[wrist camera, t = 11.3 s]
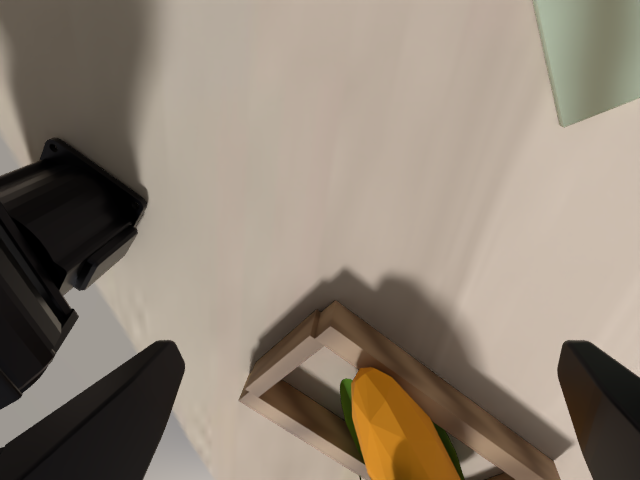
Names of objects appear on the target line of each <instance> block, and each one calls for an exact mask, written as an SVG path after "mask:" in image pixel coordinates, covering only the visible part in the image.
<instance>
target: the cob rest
mask: <svg viewBox="0 0 640 480" xmlns="http://www.w3.org/2000/svg"><path fill="white" fill-rule="evenodd" d="M323 346H325V347H327V348H328V349H330V350H331V351H333V352H334V353H335V354H337V355H338V356H340V357H341V358H343V359H344V360H345V361H347V362H348V363H350V364H351V365H353V366H354V367H355V368H357V369H358V370H359V369H360V368H367V367H373V368H375V369H377V370H379V371H381V372H383V373H385V374H387V375H389V376H391V377H392V378H393V379H394V380H395V381H396V382H397V383H398V384H399V385H400V386H401V387H402V389H403V390H404V391H405V392H406V393H407V394H408V395H409V396H410V397H411V398H412V399H413V400H414V401H415V402H416V403H417V404H418V406H419V407H420V408H421V409H422V410H423V411H424V412H425V413H426V414H427V415H428V416H429V417H430V419H431V421H433V422H434V423H435V424H437V425H438V426H440V427H441V428H443V429H444V430H445V431H447V432H448V433H450V434H451V435H453V436H454V437H455V438H457V439H458V440H460V441H461V442H463V443H464V444H465V445H467V446H468V447H470V448H471V449H473V450H474V451H475V452H477V453H478V454H480V455H481V456H483V457H484V458H485V459H487V460H488V461H490V462H491V463H493V464H494V465H495V466H497V467H498V468H500V469H501V470H503V471H504V472H505V473H502V474H500V475H497V476H494V477H491V478H489V479H486V480H561V479H560V477H559V474H558V471H557V469H556V466H555V463H554V461H552V460H551V459H550V458H548V457H547V456H545V455H544V454H543V453H541V452H540V451H539V450H537V449H536V448H535V447H533V446H532V445H531V444H529V443H528V442H527V441H525V440H524V439H523V438H521V437H520V436H518V435H517V434H516V433H514V432H513V431H512V430H510V429H509V428H508V427H506V426H505V425H504V424H502V423H501V422H500V421H498V420H497V419H495V418H494V417H493V416H491V415H490V414H489V413H487V412H486V411H485V410H483V409H482V408H481V407H479V406H478V405H477V404H475V403H474V402H473V401H471V400H470V399H468V398H467V397H466V396H464V395H463V394H462V393H460V392H459V391H458V390H456V389H455V388H454V387H452V386H451V385H450V384H448V383H447V382H446V381H444V380H443V379H441V378H440V377H439V376H437V375H436V374H435V373H433V372H432V371H431V370H429V369H428V368H427V367H425V366H424V365H423V364H421V363H420V362H418V361H417V360H416V359H414V358H413V357H412V356H410V355H409V354H408V353H406V352H405V351H404V350H402V349H401V348H400V347H398V346H397V345H396V344H394V343H393V342H391V341H390V340H389V339H387V338H386V337H385V336H383V335H382V334H381V333H379V332H378V331H377V330H375V329H374V328H373V327H371V326H370V325H369V324H367V323H366V322H364V321H363V320H362V319H360V318H359V317H358V316H356V315H355V314H354V313H352V312H351V311H350V310H348V309H347V308H346V307H344V306H343V305H341V304H340V303H339V302H337V301H336V300H335V301H334V302H333V303H332V304H330V305H329V306H328V307H327V308H326V309H325V310H323V311H322V312H319V311H318V310H317V309H316V310H315V311H314V312H313V313H312V314H311V315H310V316H308V317H307V318H306V319H305V320H304V321H303V322H301V323H300V324H299V325H298V326H297V327H296V328H295V329H293V330H292V331H291V332H290V333H289V334H288V335H287V336H285V337H284V338H283V339H282V340H281V341H280V342H279V343H277V344H276V345H275V346H274V347H273V348H272V349H271V350H269V351H268V352H267V353H266V354H265V355H264V356H262V357H261V358H260V359H259V360H258V361H257V362H256V363H255V365H254V368H253V370H252V372H251V373H250V374H249V376H248V378H247V381H246V383H245V386H244V388H243V391H242V393H241V396H240V398H239V401H240V402H241V403H243V404H244V405H246V406H248V407H249V408H251V409H253V410H254V411H256V412H257V413H259V414H261V415H262V416H264V417H265V418H267V419H269V420H270V421H272V422H273V423H275V424H277V425H278V426H280V427H282V428H283V429H285V430H286V431H288V432H290V433H291V434H293V435H294V436H296V437H298V438H299V439H301V440H303V441H304V442H306V443H307V444H309V445H311V446H312V447H314V448H315V449H317V450H319V451H320V452H322V453H323V454H325V455H327V456H328V457H330V458H332V459H333V460H335V461H336V462H338V463H340V464H341V465H343V466H344V467H346V468H348V469H349V470H351V471H352V472H354V473H356V474H357V475H359V476H361V477H362V478H364V479H365V480H371V479H370V477H369V475H368V473H367V469H366V466H365V462H364V460H363V458H362V457H361V455H360V453H359V452H358V449H357V447H356V445H355V442H354V440H353V438H352V436H351V433H350V431H349V429H348V426H347V424H346V422H345V421H344V420H342V419H341V418H339V417H338V416H336V415H335V414H333V413H332V412H330V411H329V410H327V409H326V408H324V407H323V406H321V405H319V404H318V403H316V402H315V401H313V400H312V399H310V398H309V397H307V396H306V395H304V394H303V393H301V392H300V391H298V390H297V389H295V388H294V387H292V386H290V385H289V384H287V383H286V382H284V381H283V380H281V379H282V378H284V377H285V376H286V375H288V374H289V373H290V372H291V371H293V370H294V369H295V368H296V367H298V366H299V365H300V364H302V363H303V362H304V361H305V360H307V359H308V358H309V357H311V356H312V355H313V354H314V353H316V352H317V351H318V350H320V349H321V348H322V347H323Z"/></svg>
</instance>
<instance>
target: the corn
mask: <svg viewBox="0 0 640 480" xmlns="http://www.w3.org/2000/svg"><path fill="white" fill-rule="evenodd" d="M340 397H341V404H342V409H343V413H344V417H345V422H346V424H347V426H348V429H349V431H350V433H351V436H352V438H353V440H354V442H355V445H356V447H357V449H358V452H359V453H360V455H361V457H362V458H363V460H364V462H365V466H366V469H367V473H368V475H369V477H370V479H371V480H465V479H464V476H463V473H462V470H461V467H460V464H459V460H458V457H457V454H456V451H455V449H454V447H453V445H452V443H451V441H450V439H449V437H448V435H447V433H446V431H445V430H444V429H443V428H441V427H440V426H438V425H437V424H435V423H434V422H433V421H431V419H430V417H429V416H428V415H427V414H426V413H425V412H424V411H423V410H422V409H421V408H420V407H419V406H418V404H417V403H416V402H415V401H414V400H413V399H412V398H411V397H410V396H409V395H408V394H407V393H406V392H405V391H404V390H403V389H402V387H401V386H400V385H399V384H398V383H397V382H396V381H395V380H394V379H393V378H392V377H391V376H389V375H387V374H385V373H383V372H381V371H379V370H377V369H375V368H373V367H367V368H360V369H359V371H358V373H357V374H356V376H355V378H354V379H353V381H352V380H351V379H347V378H346V379H344V380H342V381H341V384H340ZM359 477H360V480H361V476H359Z"/></svg>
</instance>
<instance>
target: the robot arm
mask: <svg viewBox="0 0 640 480" xmlns="http://www.w3.org/2000/svg"><path fill="white" fill-rule="evenodd" d="M55 145H56V146H57V148H56V147H55ZM136 203H138V204H139V206H137V205H136ZM146 207H147V203H146V201H145V200H144V199H143V198H142V197H141V196H139V195H138V194H136V193H135V192H134V191H132V190H131V189H129V188H128V187H127V186H125V185H124V184H122V183H121V182H120V181H118V180H117V179H115V178H114V177H113V176H111V175H110V174H108V173H107V172H106V171H104V170H103V169H101V168H100V167H99V166H97V165H96V164H94V163H93V162H92V161H90V160H89V159H87V158H86V157H85V156H83V155H82V154H80V153H79V152H78V151H76V150H75V149H73V148H72V147H71V146H69V145H68V144H66V143H65V142H64V141H62V140H61V139H59V138H52V139H49V140H47V141H46V143H45V146H44V149H43V152H42V155H41V158H40V161H37V162H35V163H32V164H30V165H27V166H24V167H22V168H19V169H17V170H14V171H12V172H9V173H6V174H4V175H1V176H0V409H2V408H4V407H6V406H8V405H9V404H11V403H13V402H15V401H16V400H18V399H19V398H21V396H22V393H23V392H24V391H26V390H27V389H28V388H29V387H31V385H33V384H34V383H35V382H36V381H37V380H38V379H39V378H40V377H41V375H42V374H43V373H44V371H45V370H46V368H47V367H48V365H49V364H50V363H51V362H52V360H53V358H54V356H55V354H56V352H57V351H58V349H59V348H60V346H61V345H62V343H63V341H64V340H65V338H66V337H67V335H68V333H69V332H70V330H71V329H72V327H73V326H74V324H75V322H76V321H77V319H78V317H79V316H78V315H77V313H76V312H75V310H74V309H71V307H70V306H69V304H68V303H67V301H66V300H65V298H64V297H63V295H65V294H66V293H67V292H68V291H69V290H71V289H72V288H73V287H75V288H76V289H78V290H79V291H80V290H85V289H87V288H88V287H89V286H90V285H91V284H93V283H94V282H95V281H96V280H97V279H98V278H99V277H101V276H102V275H103V274H104V273H105V272H106V271H107V270H109V269H110V268H111V267H112V266H113V265H114V264H115V263H117V262H118V261H119V260H120V259H121V258H122V257H123V256H125V254H126V252H127V251H128V249H129V247H130V246H131V244H132V242H133V241H134V239H135V237H136V235H137V234H138V232H137V229H136V228H135V227H136V225H137V223H138V222H139V220H140V218H141V216H142V215H143V213H144V211H145V209H146ZM184 371H185V363H184V360H183V358H182V356H181V354H180V352H179V350H178V348H177V345H176V344H175V342H173V341H171V340H159V341H156V342H154V343H153V344H151V345H150V346H148V347H147V348H145V349H144V350H143V351H141V352H140V353H138V354H137V355H135V356H134V357H132V358H131V359H130V360H128V361H127V362H125V363H124V364H122V365H121V366H119V367H118V368H117V369H115V370H113V371H112V372H111V373H109V374H108V375H107V376H105V377H103V378H102V379H100V380H99V381H98V382H96V383H95V384H93V385H92V386H90V387H89V388H87V389H86V390H84V391H83V392H82V393H80V394H79V395H77V396H76V397H74V398H73V399H71V400H70V401H68V402H67V403H66V404H64V405H63V406H61V407H60V408H58V409H57V410H55V411H54V412H52V413H51V414H50V415H48V416H47V417H45V418H44V419H42V420H41V421H39V422H38V423H36V424H35V425H34V426H32V427H31V428H29V429H28V430H26V431H25V432H23V433H22V434H21V435H19V436H18V437H16V438H15V439H13V440H12V441H10V442H9V443H8V444H6V445H5V447H2V448H0V480H143V478H144V476H145V474H146V471H147V469H148V467H149V465H150V462H151V460H152V458H153V455H154V453H155V451H156V449H157V446H158V444H159V442H160V440H161V437H162V435H163V432H164V430H165V427H166V425H167V422H168V419H169V416H170V413H171V410H172V407H173V404H174V401H175V398H176V395H177V392H178V389H179V386H180V383H181V380H182V377H183V374H184ZM557 372H558V379H559V382H560V385H561V388H562V392H563V395H564V398H565V401H566V404H567V407H568V410H569V414H570V417H571V420H572V423H573V426H574V429H575V432H576V436H577V439H578V442H579V445H580V448H581V451H582V454H583V456H584V459H585V461H586V464H587V466H588V468H589V471H590V473H591V475H592V478H593V480H640V377H638V376H637V375H636V374H634V373H633V372H631V371H630V370H629V369H627V368H626V367H624V366H623V365H622V364H620V363H619V362H617V361H616V360H615V359H613V358H612V357H610V356H609V355H608V354H606V353H605V352H604V351H602V350H601V349H599V348H598V347H597V346H595V345H594V344H592V343H591V342H589V341H585V340H567V341H565V342H564V343H563V345H562V349H561V354H560V359H559V363H558V369H557Z"/></svg>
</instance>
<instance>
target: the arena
mask: <svg viewBox="0 0 640 480" xmlns="http://www.w3.org/2000/svg"><path fill="white" fill-rule="evenodd" d="M532 1H533V6H534V11H535V15H536V20H537V24H538V29H539V33H540V38H541V42H542V47H543V52H544V56H545V61H546V65H547V70H548V74H549V79H550V84H551V88H552V93H553V97H554V102H555V106H556V111H557V116H558V120H559V125H560V126H562V127H567V126H569V125H572V124H574V123H577V122H580V121H582V120H585V119H587V118H590V117H592V116H595V115H598V114H600V113H603V112H605V111H608V110H610V109H613V108H615V107H618V106H621V105H623V104H626V103H628V102H631V101H633V100H636V99H638V98H640V0H532Z"/></svg>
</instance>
